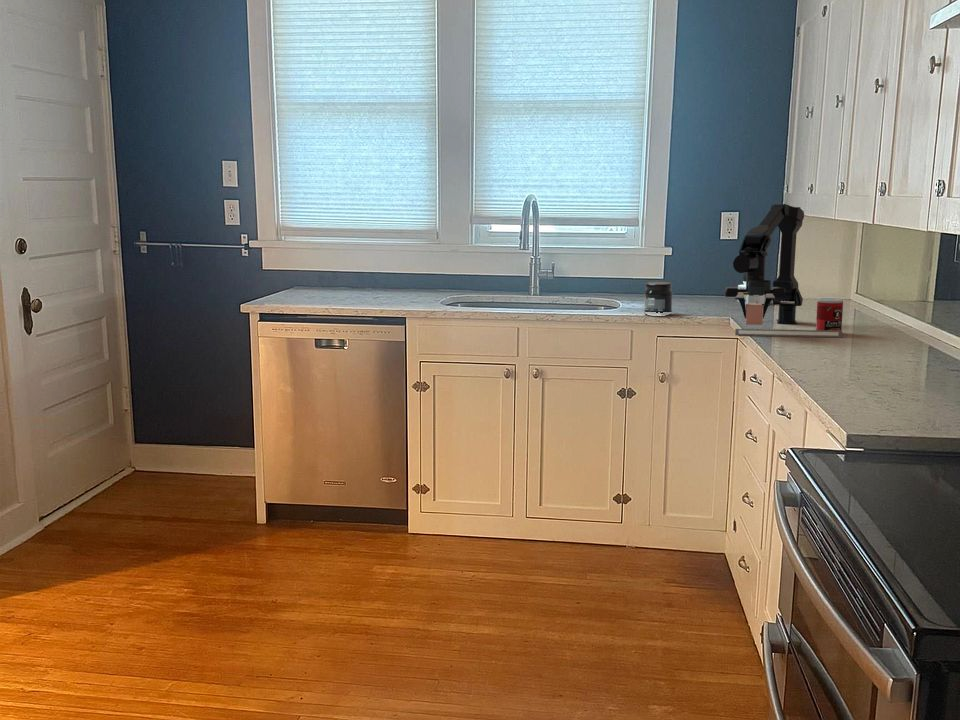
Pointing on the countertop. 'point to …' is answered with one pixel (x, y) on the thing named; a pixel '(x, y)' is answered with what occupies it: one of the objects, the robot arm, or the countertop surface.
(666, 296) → the supplement container
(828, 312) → the canned food
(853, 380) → the countertop surface
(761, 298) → the container
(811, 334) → the price rail
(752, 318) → the salmon pink block
